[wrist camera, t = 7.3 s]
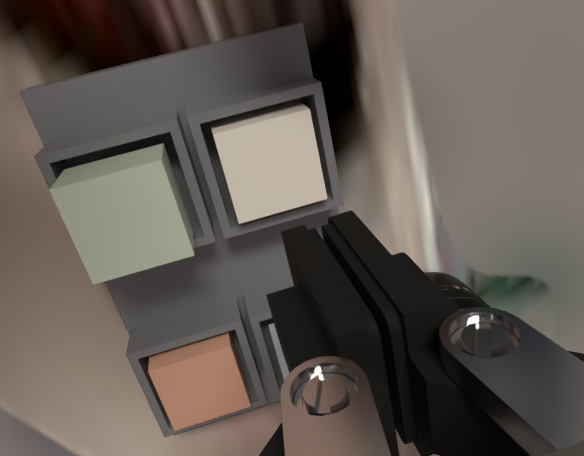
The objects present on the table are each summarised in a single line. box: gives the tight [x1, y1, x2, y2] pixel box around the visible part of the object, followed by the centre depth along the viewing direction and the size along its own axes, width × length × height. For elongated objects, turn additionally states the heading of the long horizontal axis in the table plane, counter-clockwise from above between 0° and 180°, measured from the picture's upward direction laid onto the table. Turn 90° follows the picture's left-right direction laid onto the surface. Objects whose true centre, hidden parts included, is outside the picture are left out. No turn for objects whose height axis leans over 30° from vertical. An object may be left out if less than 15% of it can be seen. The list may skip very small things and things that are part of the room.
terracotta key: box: [148, 331, 251, 431], centre depth 25 cm, size 4×4×2 cm
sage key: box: [49, 143, 195, 285], centre depth 19 cm, size 4×4×2 cm
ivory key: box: [210, 99, 327, 224], centre depth 22 cm, size 4×4×2 cm
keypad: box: [20, 22, 343, 437], centre depth 24 cm, size 20×12×3 cm, turn 12°
